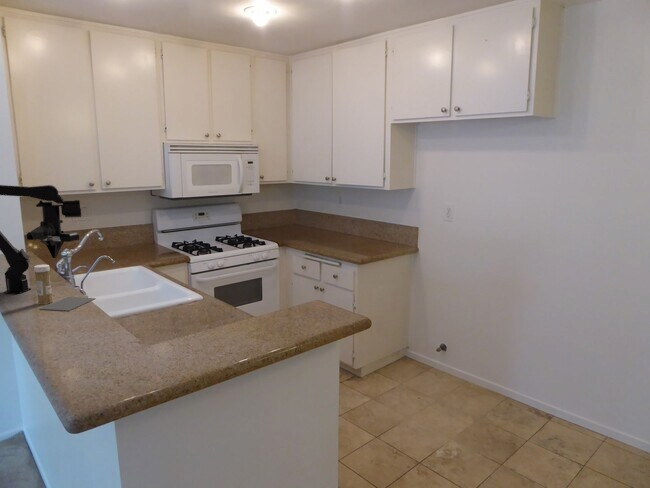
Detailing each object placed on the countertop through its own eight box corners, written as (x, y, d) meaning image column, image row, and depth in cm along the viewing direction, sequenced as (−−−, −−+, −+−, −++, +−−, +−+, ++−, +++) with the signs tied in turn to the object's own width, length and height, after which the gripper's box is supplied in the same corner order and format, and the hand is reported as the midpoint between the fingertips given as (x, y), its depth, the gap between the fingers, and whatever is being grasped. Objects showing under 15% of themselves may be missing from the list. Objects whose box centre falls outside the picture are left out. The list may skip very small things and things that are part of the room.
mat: (39, 309, 156) (39, 308, 156) (68, 297, 169) (68, 296, 169) (69, 311, 154) (69, 310, 154) (95, 299, 168) (95, 298, 168)
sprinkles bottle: (54, 302, 163) (50, 265, 161) (39, 305, 160) (35, 267, 157) (51, 300, 166) (47, 263, 164) (36, 302, 163) (32, 265, 161)
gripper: (13, 219, 172) (16, 260, 175) (57, 221, 169) (60, 263, 172) (36, 216, 183) (39, 255, 185) (78, 218, 180) (81, 257, 182)
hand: (54, 257), depth 181 cm, fingers closed
